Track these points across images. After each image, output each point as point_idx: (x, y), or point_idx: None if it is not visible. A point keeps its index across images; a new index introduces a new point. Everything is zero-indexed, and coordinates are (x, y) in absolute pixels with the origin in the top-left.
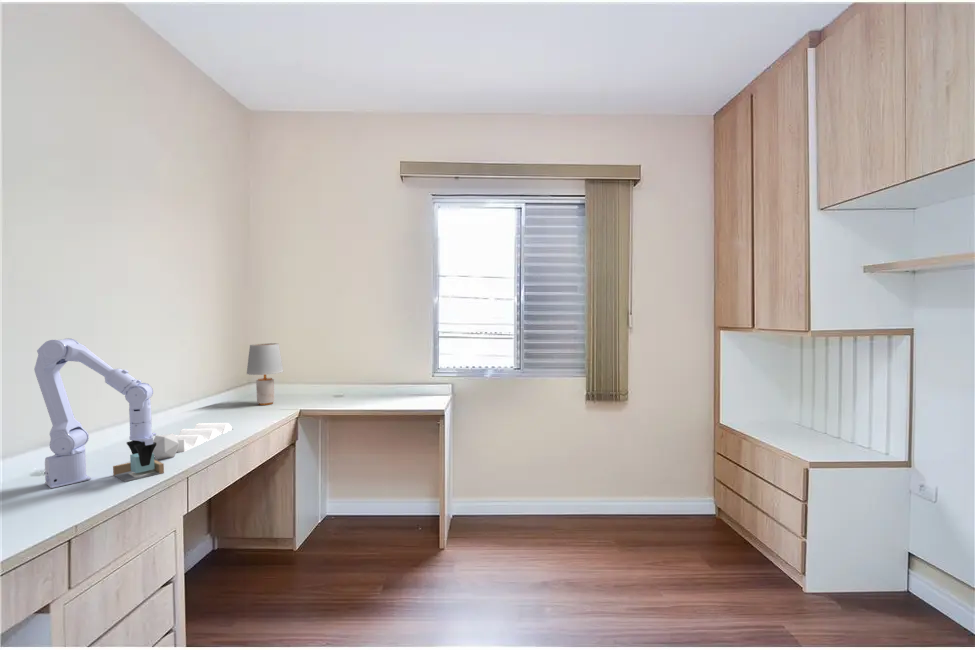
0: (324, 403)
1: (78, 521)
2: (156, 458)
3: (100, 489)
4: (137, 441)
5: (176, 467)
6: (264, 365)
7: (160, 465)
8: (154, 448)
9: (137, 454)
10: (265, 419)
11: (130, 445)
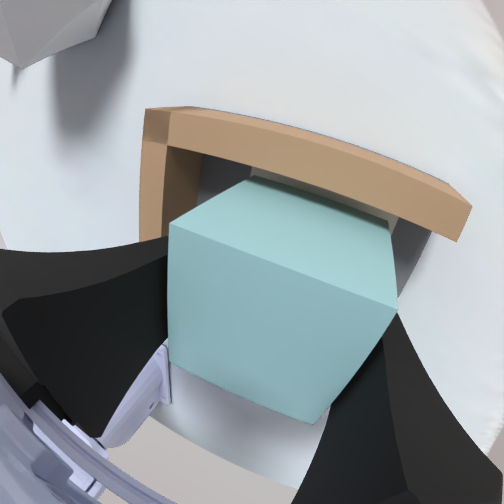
0: None
1: None
2: (91, 36)
3: None
4: (66, 406)
5: (403, 39)
6: None
7: (459, 230)
8: (40, 47)
9: (214, 355)
10: None
11: (107, 416)
